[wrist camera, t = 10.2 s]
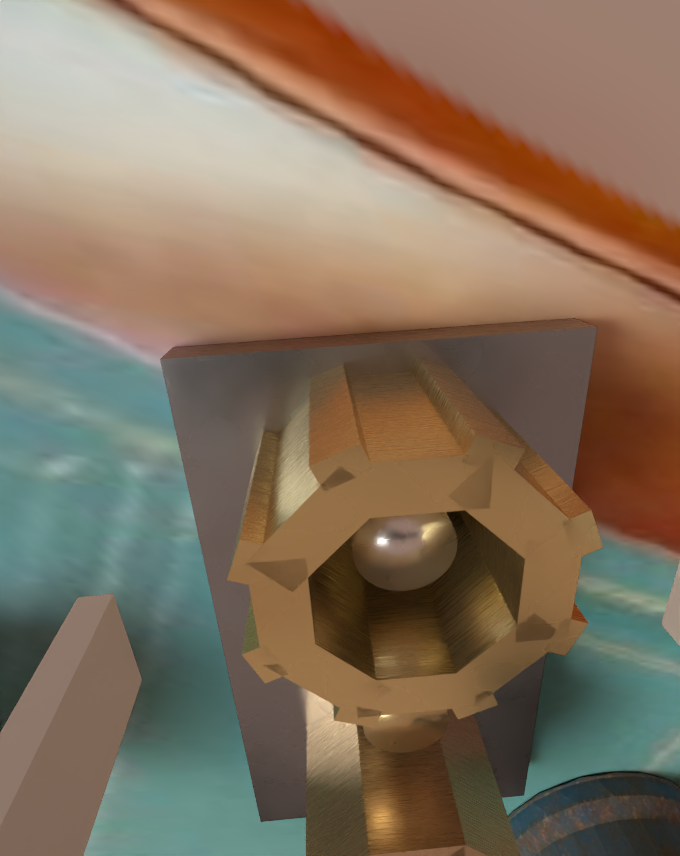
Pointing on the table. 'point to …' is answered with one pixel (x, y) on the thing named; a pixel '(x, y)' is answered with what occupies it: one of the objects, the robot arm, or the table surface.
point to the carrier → (383, 567)
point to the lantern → (601, 818)
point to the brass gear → (395, 496)
